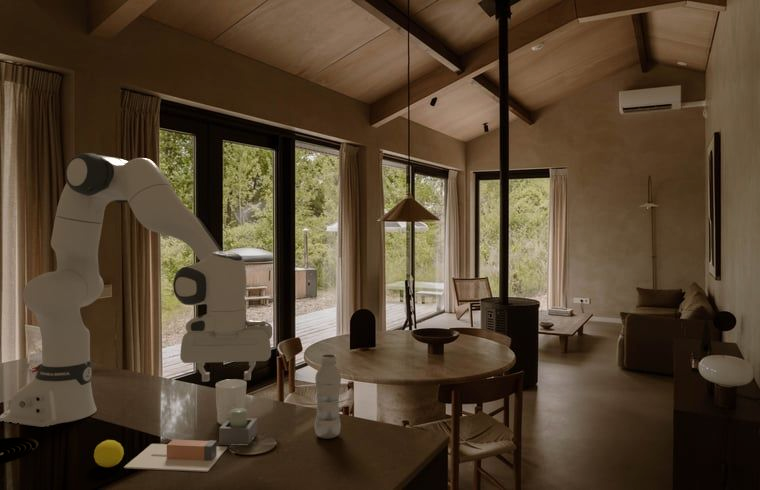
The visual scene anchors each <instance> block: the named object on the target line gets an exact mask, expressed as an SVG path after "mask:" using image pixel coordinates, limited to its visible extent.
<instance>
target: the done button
mask: <svg viewBox="0 0 760 490" xmlns="http://www.w3.org/2000/svg"><path fill="white" fill-rule="evenodd" d="M247 418H248V409H247V408H245V409H244V408H236V409H233V410H231V411H230V427H244V428H246V427H247Z"/></svg>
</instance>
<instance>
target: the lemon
mask: <svg viewBox="0 0 760 490" xmlns="http://www.w3.org/2000/svg"><path fill="white" fill-rule="evenodd" d="M124 451H125V450H124V447H123V446H122V444H121V443H120V442H118V441H116V440H113V439H106V440H104V441H102V442H100V443H99V444H98V445H96V447H95V449H94V453H93V458H94V460H95V463H96V464H97V465H98V466H99V467H103V468H112V467H114V466H117V465H118V464H119V463H120V462H121V461H122V460H123V457H124V455H125V452H124Z"/></svg>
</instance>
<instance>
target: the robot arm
mask: <svg viewBox="0 0 760 490" xmlns="http://www.w3.org/2000/svg"><path fill="white" fill-rule="evenodd" d="M64 175H65V181H66V183H65V185H64V188H63V190H62V192H61V194H60V198H59V201H58V204H57V208H56V212H55V218H54V223H53V229H52V234H51V239H50V246H51V248H52V249H53V251H54V253H55V257H56V269H55V270H53V271H49V272H44V273H42V274H39V275H38V276H36V277H33V278H32V279H31V280H29V281H28V282H27V283H26V285H25V286H24V288H23V292H22V300H23V303H24V305H25V306H26V308H28V310H30V311H31V312H32V313H33V314H34V316H35V318H36V321H37V324H38V327H39V331H40V336H41V364H39V365H37V366H34V367H32V368H31V370H32V371H31V374H32V373H36V374H35V378H33V379H32V380H30V381H29V382H28V383H27V384H25V385H24V386H23V387H22V388H20V389H19V390H17V391H16V392H15V393H14V394H13V396H12V397H11V400H10V406H9V409H7V410H6V411H5V412H2V414H0V422H2V421H4V422H3V423H9V422H12V423H11V424H17V423H19V424H18V425H24V426H25V425H26V426H32V427H33V426H34V427H43V428H45V426H46V427H50V425H51V426H53V425H58V424H63V423H70V422H75V421H78V420H82V419H84V418H88V417H90V416H92V415H94V414H95V413H96V412H97V406H96V404H95V399H94V395H93V389H92V377H93V376H92V374H93V372H92V371H93V366H92V365H93V363H92V358H91V344H90V343H91V334H90V333H91V332H90V330H89V328H87V327H86V325H85V324H84V322H83V318H82V315H81V314H82V313H81V308H83V307H88V306H89V305H91V304H93V303H94V302H96V301H97V299H99V298H100V297H101V295H102V294H103V292H104V288H105V285H104V284H105V283H104V280H103V278H102V276H101V275H100V267H99V245H100V240H101V235H102V229H103V228H102V227H103V222H104V215H105V209H106V207H107V205H109V204H110V203H111V202H113V201H114V202H116V203H117V204H123V203H124V204H125V203H128V205H129V207H130V208H131V210H132V213H133V215H134V217H135V218H136V220H137V221H138V222H139V223H140V225H142V227H144V228H145V229H147V230H149V231H151V232H154V233H157V234H162V235H165V236H168V237H172V238H174V239H177V240H179V241H181V242H183V243H184V244H186V245H187V246H188V247H190V249H191V250H192V252H194V254H195V257H197V259H198V260H199V261H198V262H196V263H192V264H188V265H187V266H182V267H181V268H180V269H178V270H177V272H176V273H175V275H174V278H173V283H172V288H173V293H174V295H175V297H176V299H177V300H178V301H179V302H180V303H182V305H186V306H199V305H200V306H201V305H206V314H204V315H203V314H202V315H199V316H196V317H193V318H191V319H190V320H188V321H187V322H186V324H185V330H186V333H185V334H184V335H183V337H182V338H181V345H180V355H179V357H180V360H181V362H182V363H183V364H194V363H195V364H196V369H197V370H198V371H199V373H200V374H201V382H204V383H205V382H210V379H211V378H210V375H211V373H210V372H209V371H206V370H205V368H204V366H205V365H206V363H239V362H240V363H242V362H248V366H249V369H248V370H245V371H244V372H243V380H244V381H251V379H252V372H253V370H254V368H255V366H256V363H257V362H266V361H268V360H269V359H270V358H271V356H272V349H271V348H272V347H271V346H272V345H271V339H272V336H273V327H272V324H271V323H270V322H266V320H247V304H246V300H245V298H246V292H247V270H246V264H245V260H244V258H243V256H241V255H240V254H238V253H236V252H232V251H224V250H223V249H222V247H221V246H220V245H219V244H218V242H217V240H216V239H215V238H214V237H213V235H212V233H210V231H209V230H208V228H207V227H206V225H205V224H204V223H203V222H202V221H201V219H200V218H199V217H198V216H197V215H195V213H193V212H192V211H191V210H190V209H189V208H188V207H187V205H185V203H184V202H183V201H182V200H181V198H180V197H179V196H178V194H177V193H176V191H175V190H174V188H173V186H172V184H171V182H170V181H169V180H168V178H167V176H166V175H165V174H164V172H163V171H162V170H161V169H160V167H159V166H158V165H157V164H156V163H155V162H154V161H152V160H151V159H149V158H145V157H136V158H133V159H130V160H126V159H123V158H119V157H115V156H107V155H100V154H97V153H93V152H91V153H90V152H87V153H86V152H82V153H77V154H75V155H74V156H72V157H71V158H70V160H69V161H68V163H67V165H66V167H65V174H64Z"/></svg>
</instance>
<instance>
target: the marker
mask: <svg viewBox="0 0 760 490" xmlns="http://www.w3.org/2000/svg"><path fill="white" fill-rule="evenodd" d="M217 442H218V441H217V440H212V439H211V440H197V439H196V440H195V439H194V440H193V439H172V440H170V441H169V442H168V443H167V458H168V459H191V460H212V459H213V458H214V457H215V456H216V454H217V445H218V443H217Z"/></svg>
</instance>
